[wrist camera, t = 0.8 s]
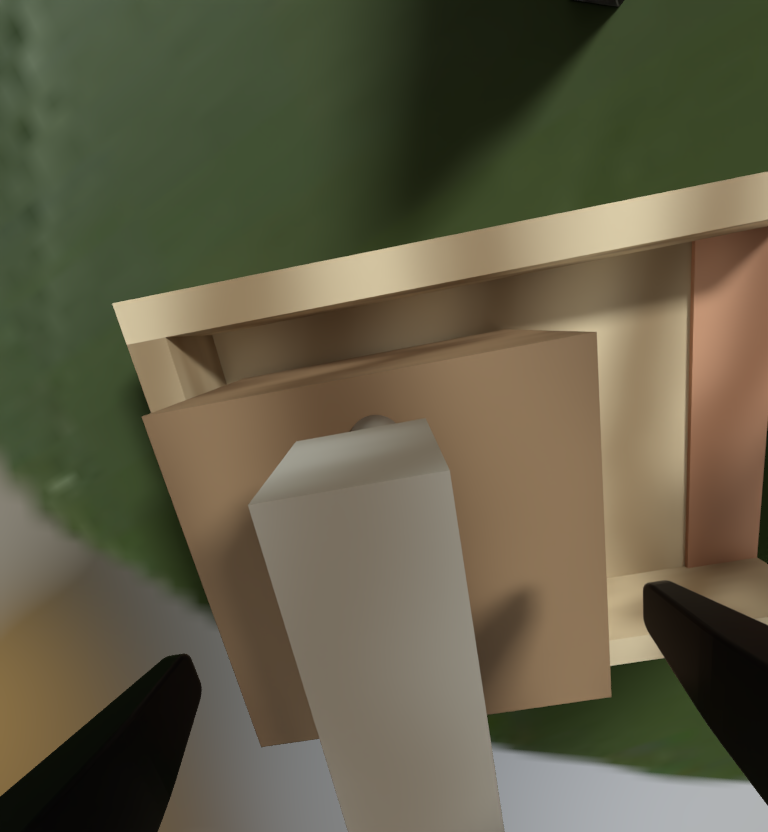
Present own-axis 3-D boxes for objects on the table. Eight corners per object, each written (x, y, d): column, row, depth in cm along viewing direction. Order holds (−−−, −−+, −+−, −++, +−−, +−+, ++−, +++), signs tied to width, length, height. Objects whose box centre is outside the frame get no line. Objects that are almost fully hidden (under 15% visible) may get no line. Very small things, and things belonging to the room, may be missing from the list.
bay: (752, 196, 13) (903, 144, 9) (731, 563, 17) (832, 633, 13) (186, 309, 14) (112, 303, 10) (285, 633, 18) (259, 717, 14)
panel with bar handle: (503, 329, 13) (893, 339, 3) (527, 559, 16) (791, 988, 6) (243, 378, 14) (-154, 527, 4) (305, 595, 16) (171, 1055, 6)
